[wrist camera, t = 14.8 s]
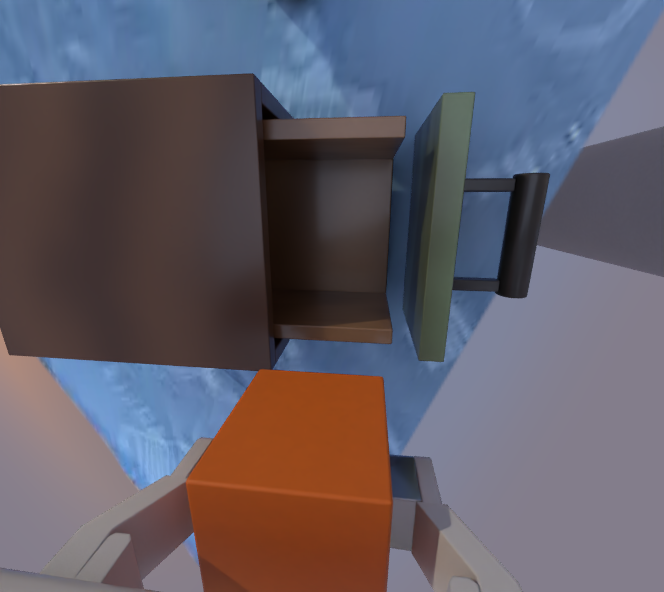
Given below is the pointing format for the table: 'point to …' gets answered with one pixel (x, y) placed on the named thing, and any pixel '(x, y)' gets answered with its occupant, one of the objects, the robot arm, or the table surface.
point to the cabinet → (137, 221)
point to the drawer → (381, 225)
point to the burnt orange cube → (297, 488)
